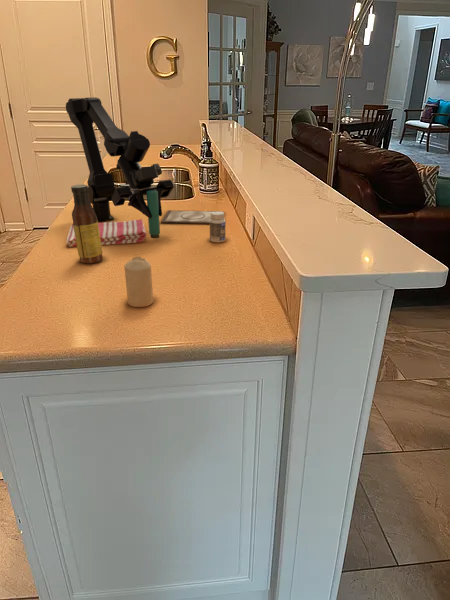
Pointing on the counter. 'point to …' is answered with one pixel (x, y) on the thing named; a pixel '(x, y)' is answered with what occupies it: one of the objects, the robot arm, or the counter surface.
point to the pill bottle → (217, 227)
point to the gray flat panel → (187, 217)
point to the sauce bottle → (85, 226)
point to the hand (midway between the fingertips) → (156, 216)
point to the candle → (139, 282)
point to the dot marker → (153, 213)
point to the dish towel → (115, 233)
